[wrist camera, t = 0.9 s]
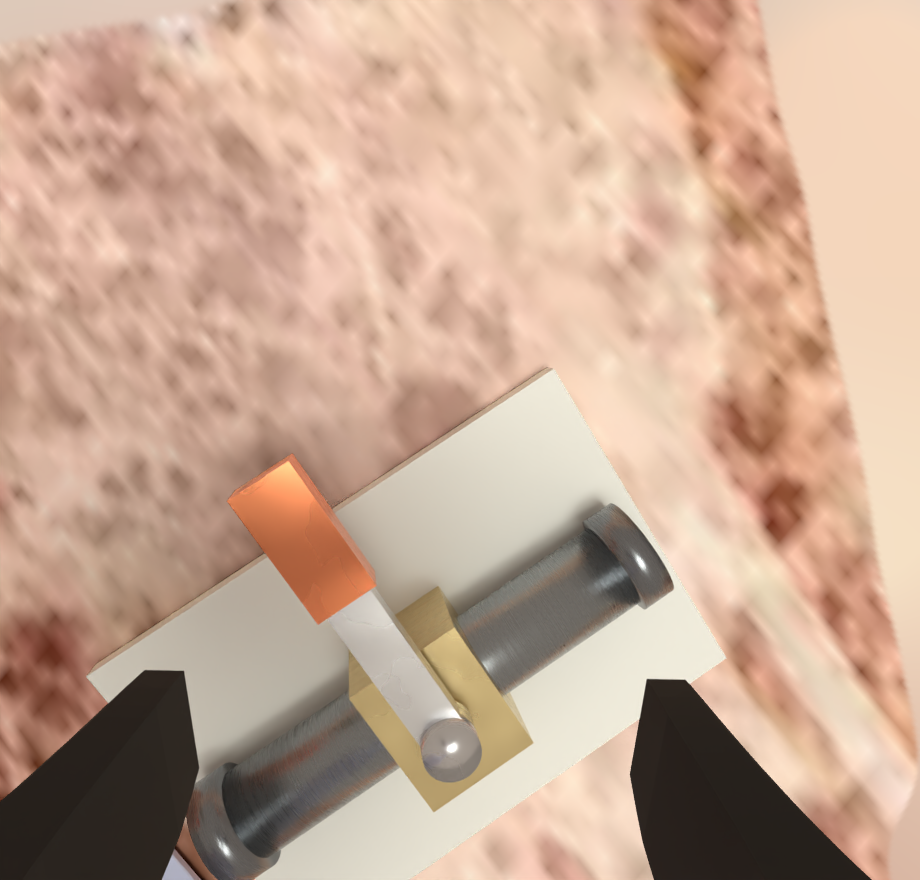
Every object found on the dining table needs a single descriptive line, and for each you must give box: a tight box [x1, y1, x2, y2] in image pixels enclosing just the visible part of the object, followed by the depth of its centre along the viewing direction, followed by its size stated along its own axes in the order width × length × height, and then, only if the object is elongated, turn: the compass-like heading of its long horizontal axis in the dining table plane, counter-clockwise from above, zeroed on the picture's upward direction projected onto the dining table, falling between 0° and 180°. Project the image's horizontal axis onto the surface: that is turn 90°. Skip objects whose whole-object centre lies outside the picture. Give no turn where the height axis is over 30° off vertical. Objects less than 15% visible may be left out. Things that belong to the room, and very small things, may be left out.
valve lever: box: [227, 453, 482, 783], centre depth 21 cm, size 11×2×2 cm, turn 32°
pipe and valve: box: [186, 503, 674, 880], centre depth 25 cm, size 18×5×4 cm, turn 122°
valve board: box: [86, 368, 726, 880], centre depth 27 cm, size 20×14×1 cm
